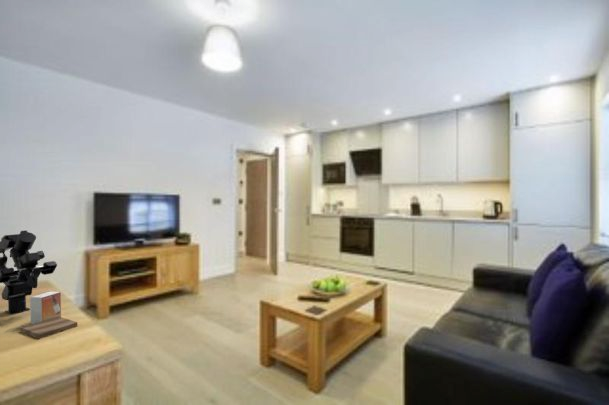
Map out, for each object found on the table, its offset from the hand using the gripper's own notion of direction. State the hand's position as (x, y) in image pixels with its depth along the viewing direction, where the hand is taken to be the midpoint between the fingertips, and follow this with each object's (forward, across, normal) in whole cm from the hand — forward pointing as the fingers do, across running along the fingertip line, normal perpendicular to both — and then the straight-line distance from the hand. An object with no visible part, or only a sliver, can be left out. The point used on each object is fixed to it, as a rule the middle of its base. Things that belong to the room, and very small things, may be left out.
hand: (35, 287), depth 131 cm
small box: (+14, 0, +3) cm, 15 cm away
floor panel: (+22, -4, -4) cm, 22 cm away
